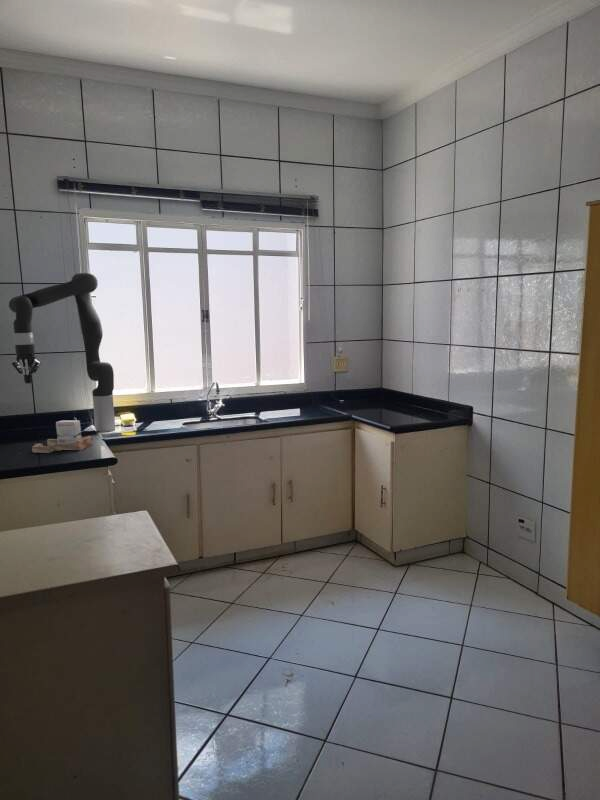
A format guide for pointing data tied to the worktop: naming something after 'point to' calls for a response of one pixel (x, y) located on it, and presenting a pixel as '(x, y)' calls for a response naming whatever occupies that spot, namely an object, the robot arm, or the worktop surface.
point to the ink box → (68, 431)
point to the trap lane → (62, 445)
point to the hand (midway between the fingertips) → (28, 383)
